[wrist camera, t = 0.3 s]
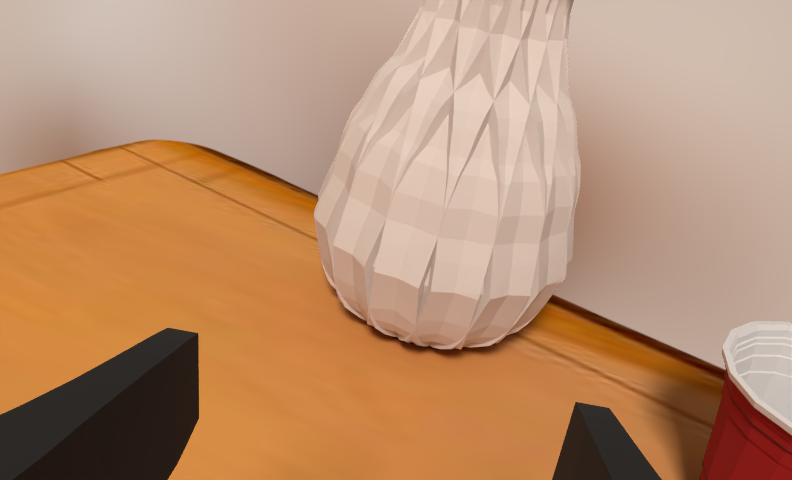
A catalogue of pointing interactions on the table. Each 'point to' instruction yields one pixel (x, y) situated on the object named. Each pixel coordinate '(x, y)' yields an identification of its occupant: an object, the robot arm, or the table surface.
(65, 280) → the table surface
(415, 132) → the vase
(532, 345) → the table surface
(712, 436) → the plastic cup
